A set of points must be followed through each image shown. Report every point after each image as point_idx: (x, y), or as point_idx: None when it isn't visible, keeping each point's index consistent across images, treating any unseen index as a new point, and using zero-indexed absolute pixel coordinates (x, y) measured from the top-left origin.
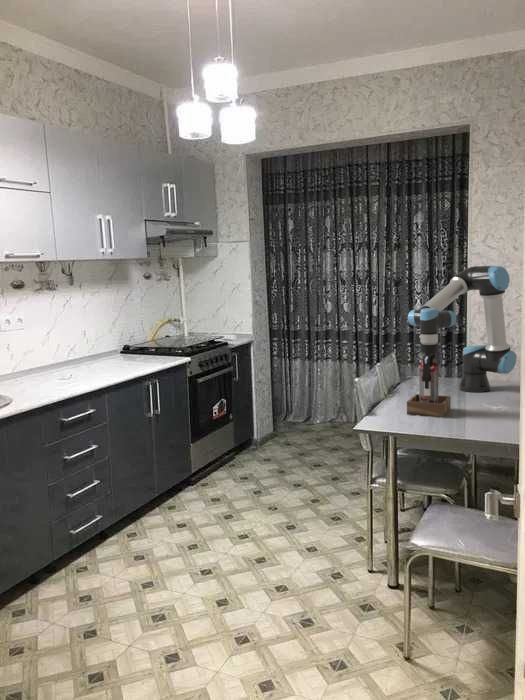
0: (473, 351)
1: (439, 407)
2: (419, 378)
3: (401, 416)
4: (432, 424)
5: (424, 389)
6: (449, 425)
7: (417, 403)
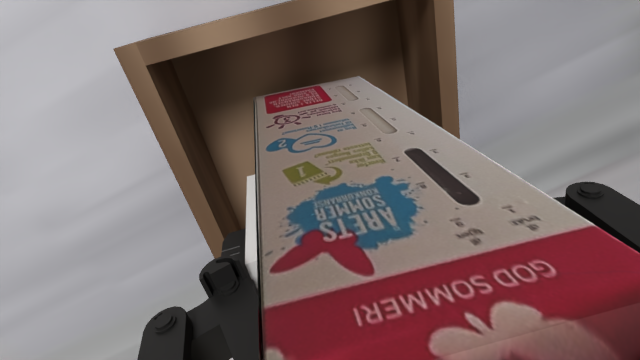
0: None
1: None
2: (256, 212)
3: (75, 26)
4: (74, 267)
5: (248, 210)
6: (127, 324)
7: (161, 141)
